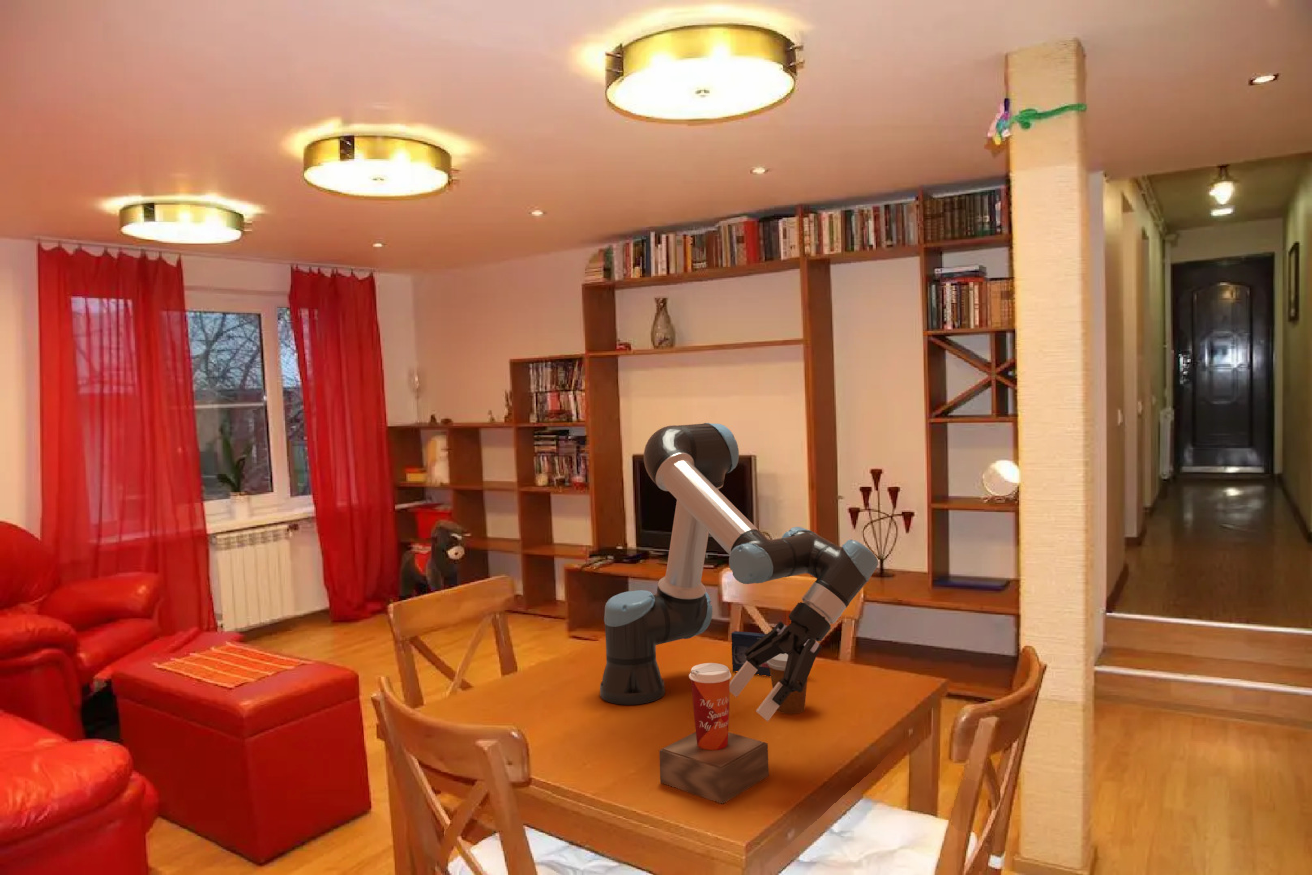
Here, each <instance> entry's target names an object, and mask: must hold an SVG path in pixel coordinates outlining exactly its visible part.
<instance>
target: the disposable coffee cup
mask: <svg viewBox="0 0 1312 875" xmlns="http://www.w3.org/2000/svg"><path fill="white" fill-rule="evenodd" d="M787 658H788V654H786V653H785V654H779V655H777V656H775V657H774V658H772V659H770V660H768V661H767V663H768V665H769V668H770V674H771V677H770V680H771V686H772V689H773V688H774V687H775V685H776V684H777V683H778V682H780V681H779V680H780V679H783V676H784V672H785V667H786V663H787ZM808 678H809V677H808ZM808 678H807V681H806V683H805V686H804V688H803V691H802V692H800V693H799V692H798V691H794V692H791V693H790V694H789V695H788V697H787V698H786V699H785V700H784V702H783V703H782V704H781V705H780V706H779V708H778V709H777V710H776V712H778V713H781V714H787V715H794V714H800V713H803V712H804V711H805V708H806V699H807V698H806V697H807V690H808V689H807V688H808V687H807V686H808ZM780 683H781V682H780ZM798 683H799V681H798ZM781 684H782V683H781ZM782 685H783V684H782Z"/></svg>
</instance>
